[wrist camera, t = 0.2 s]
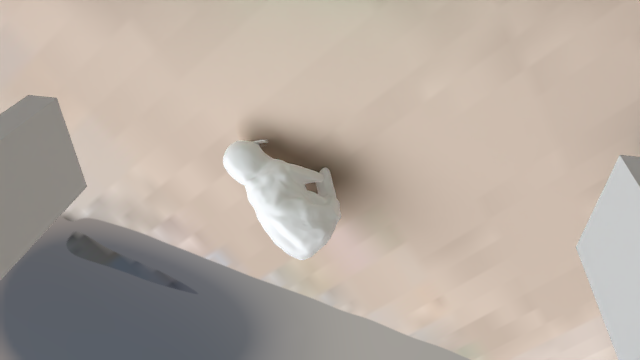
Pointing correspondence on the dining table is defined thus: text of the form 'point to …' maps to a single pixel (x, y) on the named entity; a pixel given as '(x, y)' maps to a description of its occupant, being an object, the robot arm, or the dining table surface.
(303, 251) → the white animal figurine
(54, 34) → the dining table surface
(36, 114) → the robot arm
